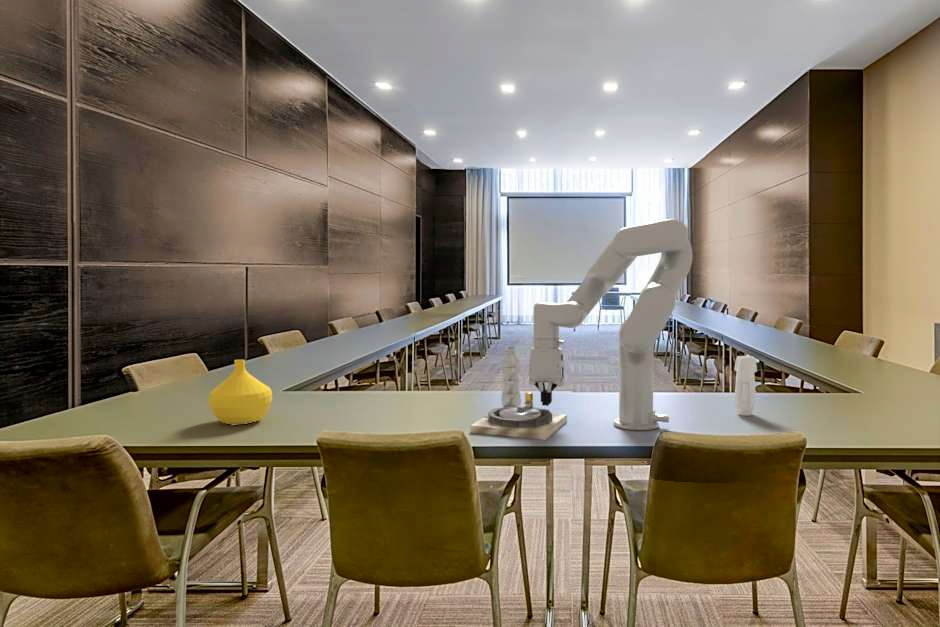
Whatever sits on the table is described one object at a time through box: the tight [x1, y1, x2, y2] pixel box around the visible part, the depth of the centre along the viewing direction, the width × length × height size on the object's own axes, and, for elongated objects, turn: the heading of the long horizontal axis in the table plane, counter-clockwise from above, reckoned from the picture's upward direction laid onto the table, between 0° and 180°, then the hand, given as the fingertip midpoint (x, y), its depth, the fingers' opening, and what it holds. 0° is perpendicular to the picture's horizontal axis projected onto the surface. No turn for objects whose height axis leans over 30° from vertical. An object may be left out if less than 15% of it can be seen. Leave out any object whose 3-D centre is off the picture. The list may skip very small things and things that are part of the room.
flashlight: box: [733, 355, 758, 417], centre depth 194 cm, size 7×18×7 cm
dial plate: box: [469, 406, 568, 441], centre depth 183 cm, size 22×22×4 cm
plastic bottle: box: [500, 346, 522, 407], centre depth 208 cm, size 6×7×20 cm
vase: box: [208, 359, 273, 425], centre depth 193 cm, size 18×18×19 cm
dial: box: [499, 391, 541, 419], centre depth 184 cm, size 16×12×6 cm
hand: (546, 404), depth 188 cm, fingers closed
